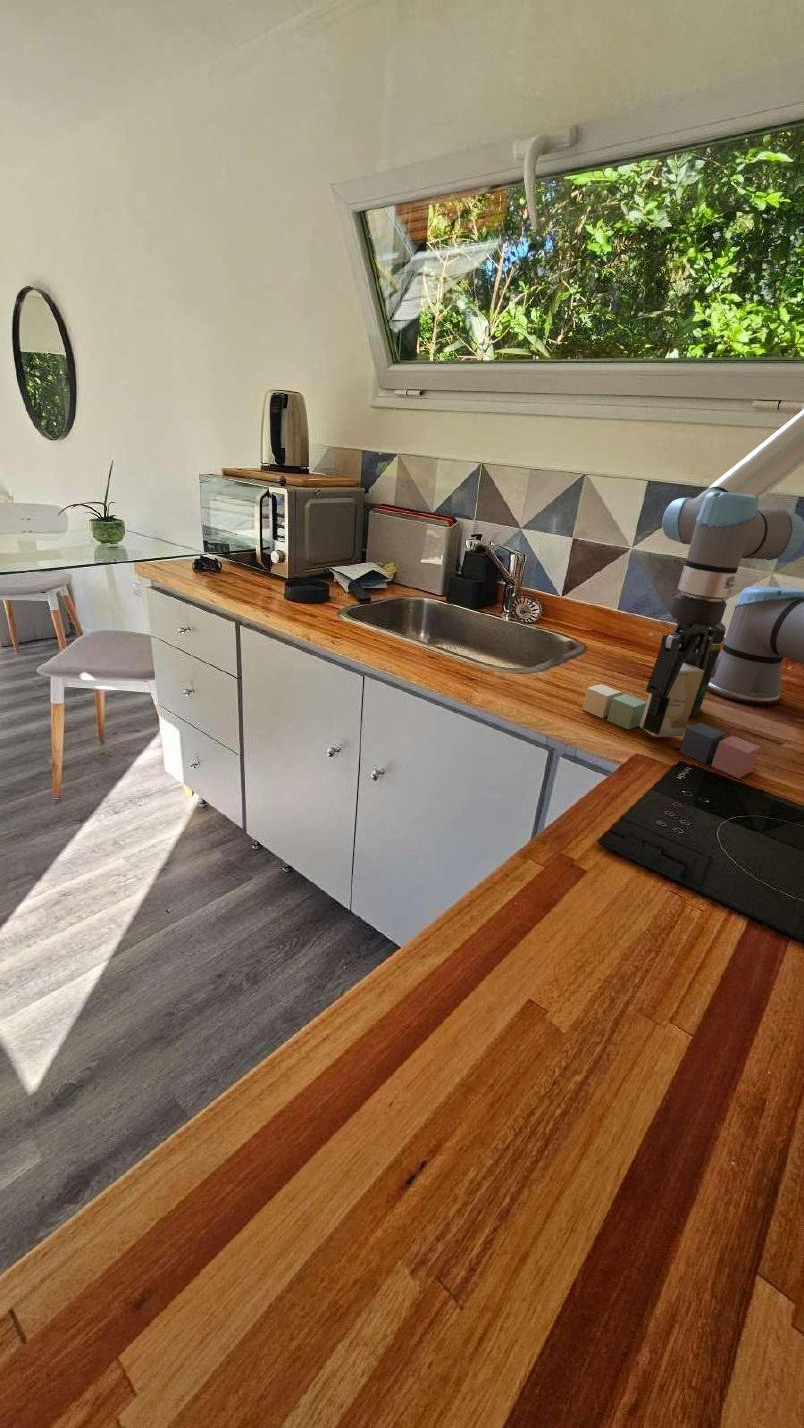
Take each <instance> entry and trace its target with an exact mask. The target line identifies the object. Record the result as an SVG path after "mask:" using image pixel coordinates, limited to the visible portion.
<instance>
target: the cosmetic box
mask: <svg viewBox="0 0 804 1428" xmlns="http://www.w3.org/2000/svg"><path fill="white" fill-rule="evenodd" d="M703 674H704V671H703V670H701V669H699V668H698V667H695V666H693V665H690V664H687V663H683V665H682V667H681V669H680V671H679V673H678V675H677V677H676V680H675V682H674V684H673V686H672V688H671V690H670V692H669V694H668V696H667V697H668V698H670V700H669V703H668V706H667V710H666V713H665V716H664V720H663V723H662V726H661V730H660V733H659V734H655V733H652V732H650V731H648V730H645V729H643V725H644V722H645V718H646V715H647V711H648V708H649V704H650V701H651V697H652V694H650V693H648V697H647V700H646V702H647V703H646V706H645V710H644V713H643V716H642V719H641V723H640V726H639V727H640V728H641V729H643V731H646V733H648V734H649V735H651V736H652V737H655V738H657V737H682V736H683V737H684V734H685V731H686V728H687V725H688V721H689V719H690V716H689V715H690V713H691V710H692V707H693V704H694V701H695V698H696V695H697V692H698V689H699V686H700V683H701V680H702V677H703Z"/></svg>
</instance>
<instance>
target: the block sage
mask: <svg viewBox="0 0 804 1428" xmlns="http://www.w3.org/2000/svg"><path fill="white" fill-rule="evenodd" d="M646 703H647V700H646V701H645V700H643V699H641V698H637V697H636V696H633V695H631V694H628V693H624V694H621V695H620V696H618V697H615V698H613V699H612V703H611V707H610V711H609V715H608V716H607V719H606V721H608V722H609V723H612V724H614V725H615V726H616V725H617V726H619V727H621V728H623V729H625V730H628V731H629V730H632V729H634V728H637V727H640V723H641V719H642V716H643V713H644V710H645V706H646Z"/></svg>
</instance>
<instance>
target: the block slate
mask: <svg viewBox="0 0 804 1428" xmlns="http://www.w3.org/2000/svg"><path fill="white" fill-rule="evenodd" d="M725 737H726V732H724V731H722V730H720V729H717V728H714V727H712V726H709V725H707V724H704V723H701V722H698V723H694V724H693V725H690V726H688V727H686V728H685V731H684V734H683V737H682V739H681V744H680V747H679V750H678V753H680V754H682V755H685V756H687V757H689V758H691V759H694V760H696V761H697V762H698V761H699V762H701V763H703V764H706V763H708V762H710V761H713V759H714V756H715V753H716V750H717V747H718V744H719V742H720V741H722V740H724V739H725Z"/></svg>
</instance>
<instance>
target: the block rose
mask: <svg viewBox="0 0 804 1428" xmlns="http://www.w3.org/2000/svg"><path fill="white" fill-rule="evenodd" d="M760 749H761V746H760V745H757V744H755V743H753V742H749V741H747V740H745V739H742V738H740V737H737V736H735V735H730V736H727V737H726V738H724V739H723V740H722V741H720V742H719V744H718V747H717V750H716V753H715V756H714V759H712V762H711V764H710V767H712V768H714V769H716V770H719V771H722V772H723V773H726V774H728V775H731V776H732V777H734V778H737V779H740V778H742V777H744V776H746V775H747V774H749V773H751V772H752V770H753V768H754V765H755V763H756V760H757V757H758V754H759V752H760Z"/></svg>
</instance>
